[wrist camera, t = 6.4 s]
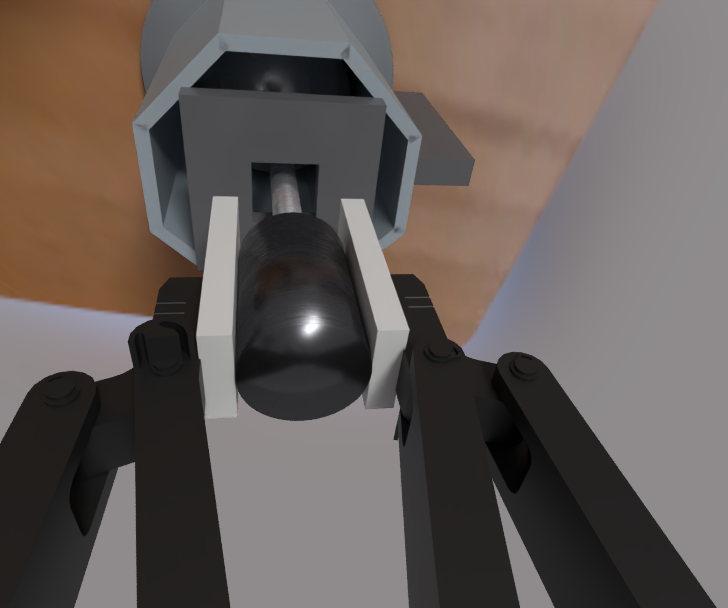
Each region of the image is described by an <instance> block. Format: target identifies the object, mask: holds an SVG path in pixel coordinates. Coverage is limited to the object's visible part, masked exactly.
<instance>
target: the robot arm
mask: <svg viewBox="0 0 728 608" xmlns="http://www.w3.org/2000/svg"><path fill="white" fill-rule="evenodd" d="M338 236H339V238H340V240H341V242H342V245H343V249H344V253H345V257H346V261H347V265H348V269H349V273H350V277H351V281H352V285H353V289H354V293H355V297H356V301H357V305H358V309H359V313H360V317H361V321H362V325H363V329H364V333H365V337H366V341H367V345H368V349H369V353H370V357H371V361H372V375H371V379H370V381H369V384H368V386H367V387H366V389H365V391H364V392H363V393H362V396H363V400H364V405H365V409H379V408H393V407H394V402H395V397H396V394H397V398H398V401H399V405H400V412H399V417H398V421H397V425H396V430H395V435H394V440H398V437H399V450H400V451H399V452H400V468H401V484H402V501H403V516H404V533H405V549H406V565H407V580H408V597H409V608H520V605H519V601H518V596H517V591H516V587H515V582H514V578H513V573H512V569H511V564H510V559H509V555H508V550H507V545H506V541H505V536H504V532H503V527H502V522H501V518H500V513H499V508H498V504H497V499H496V495H495V490H494V486H493V481H494V483H495V485H496V487H497V489H498V491H499V493H500V495H501V497H502V500H503V502H504V504H505V506H506V508H507V510H508V512H509V514H510V516H511V518H512V520H513V522H514V524H515V526H516V529H517V531H518V533H519V535H520V537H521V539H522V541H523V543H524V545H525V547H526V549H527V551H528V553H529V555H530V557H531V559H532V562H533V564H534V566H535V568H536V570H537V572H538V574H539V576H540V578H541V580H542V582H543V584H544V586H545V589H546V591H547V593H548V595H549V597H550V598H551V601H552V603H553V605H554V607H555V608H716V606H715V605H714V603H713V602H712V600H711V599H710V598H709V596H708V595H707V593H706V592H705V591H704V589H703V588H702V586H701V585H700V583H699V582H698V581H697V579H696V578H695V576H694V575H693V573H692V572H691V571H690V569H689V568H688V567H687V565H686V564H685V562H684V561H683V559H682V558H681V556H680V555H679V554H678V552H677V551H676V550H675V548H674V546H673V545H672V544H671V542H670V541H669V540H668V538H667V536H666V535H665V534H664V532H663V531H662V529H661V528H660V527H659V525H658V524H657V522H656V521H655V519H654V518H653V517H652V515H651V514H650V512H649V511H648V510H647V508H646V507H645V505H644V504H643V502H642V501H641V500H640V498H639V497H638V495H637V494H636V492H635V491H634V490H633V488H632V487H631V485H630V484H629V482H628V481H627V480H626V478H625V477H624V475H623V474H622V473H621V471H620V470H619V469H618V467H617V466H616V464H615V463H614V461H613V460H612V458H611V457H610V455H609V454H608V453H607V451H606V450H605V448H604V447H603V445H602V444H601V443H600V441H599V440H598V439H597V437H596V436H595V434H594V433H593V431H592V430H591V429H590V427H589V426H588V424H587V423H586V422H585V420H584V418H583V417H582V416H581V414H580V413H579V411H578V410H577V409H576V407H575V406H574V404H573V403H572V401H571V400H570V399H569V397H568V396H567V395H566V393H565V392H564V390H563V389H562V387H561V386H560V384H559V383H558V382H557V380H556V379H555V377H554V376H553V374H552V373H551V372H550V370H549V369H548V367H547V366H546V365H545V364H544V363H543V362H542V361H540V360H539V359H537V358H535V357H533V356H532V355H529V354H525V353H522V352H510V353H506V354H504V355H502V356H501V357H500V358H499V359H498V362H497V364H495V363H490V362H485V361H479V360H476V359H472V358H469V357H467V356H465V354H464V352H463V350H462V348H461V347H460V346H458V345H457V344H456V343H455V342H453V341H451V340H449V339H447V337H446V334H445V332H444V330H443V327H442V325H441V323H440V320H439V318H438V316H437V313H436V311H435V308H434V307H433V304H432V301H431V299H430V298H429V294H428V292H427V290H426V287H425V285H424V284H423V283H422V282H421V281H420V280H419V279H418V278H417V277H416V276H415V275H414V274H390V273H389V270H388V267H387V264H386V261H385V258H384V256H383V253H382V250H381V247H380V244H379V241H378V238H377V236H376V233H375V230H374V227H373V224H372V221H371V218H370V216H369V213H368V210H367V207H366V204H365V201H364V199H341V204H340V215H339V227H338ZM239 250H240V231H239V209H238V197H228V196H213V200H212V209H211V217H210V225H209V234H208V242H207V250H206V258H205V267H204V275H203V277H184V278H169V279H168V280H167V281H166V283H165V284H164V285H163V286H162V287H161V288H160V289H159V294H158V298H157V304H156V307H155V312H154V316H153V320H150V321H147V322H145V323H143V324H141V325H139V326H138V327H136V328H135V329H134V330H133V331H132V332H131V333H130V336H129V340H128V345H129V349H130V353H131V358H132V362H133V368H132V369H130V370H129V371H127V372H125V373H123V374H120V375H117V376H115V377H111V378H108V379H104V380H100V381H96V382H94V380H93V378H92V377H91V376H89V375H87V374H85V373H83V372H77V371H67V372H59V373H56V374H53V375H50V376H48V377H45V378H44V379H42V380H41V381H39V382H38V383H37V384H35V385H34V386H33V387H32V388H31V390H30V391H29V392H28V393H27V395H26V397H25V399H24V400H23V402H22V404H21V406H20V408H19V410H18V411H17V413H16V415H15V417H14V419H13V421H12V423H11V424H10V426H9V428H8V430H7V432H6V434H5V436H4V437H3V439H2V441H1V443H0V608H74V606H75V603H76V600H77V597H78V593H79V590H80V587H81V584H82V581H83V577H84V575H85V571H86V568H87V565H88V562H89V559H90V556H91V552H92V549H93V546H94V543H95V540H96V536H97V533H98V530H99V527H100V524H101V520H102V517H103V514H104V511H105V508H106V505H107V501H108V498H109V495H110V492H111V489H112V486H113V483H114V479H115V476H116V473H117V470H118V467H121V466H124V465H127V464H130V463H133V462H135V483H136V484H135V485H136V557H137V558H136V561H137V562H136V566H137V608H230V601H229V594H228V587H227V580H226V573H225V565H224V558H223V550H222V544H221V536H220V529H219V521H218V514H217V508H216V500H215V492H214V486H213V478H212V471H211V463H210V456H209V449H208V442H207V434H206V427H205V420H204V415H206V419H209V418H225V417H237V409H238V389H237V386H236V343H237V307H238V271H239ZM492 479H493V481H492Z"/></svg>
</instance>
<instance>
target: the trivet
mask: <svg viewBox="0 0 728 608" xmlns="http://www.w3.org/2000/svg"><path fill="white" fill-rule="evenodd" d="M204 1H205V0H152V2H151V4H150V7H149V10H148V13H147V15H146V18H145V22H144V27H143V32H142V37H141V54H140V57H141V70H142V77H143V82H144V87H145V91H146V93H147V91H148V89H149V87H150V85H151V82H152V80H153V78H154V76H155V74H156V72H157V70H158V68H159V65H160V63H161V61H162V59H163V57H164V55H165V53H166V50H167V48H168V46H169V44H170V42H171V40H172V38H173V36H174V34H175V33H176V31H177V30H178V29H179V28H180V27H181V26H182V25H183V24H184V23H185V22H186V21H187V20H188V18H189V17H190V16H191V15H192V14H193V13H194V12H195V11H196V10H197V9H198V8H199V6H200V5H201V4H202V3H203V2H204ZM328 1H329V2H330V3H331V5H332V6H333V7H334V9H335V10H336V11H337V13H338V14H339V15H340V17H341V18H342V19H343V21H344V22H345V23H346V24H347V26H348V27H349V28H350V30H351V31H352V32H353V34H354V35H355V36H356V38H357V39H358V40H359V42H360V43H361V44H362V46H363V47H364V48H365V50H366V51H367V53H368V54H369V56H370V57H371V59H372V60H373V62H374V63H375V65H376V66H377V68H378V69H379V71H380V72H381V74H382V75H383V77H384V79H385V80H386V82H387V83H388V85H389V86H390V88H391V89H392V84H393V57H392V51H391V45H390V39H389V36H388V33H387V29H386V26H385V23H384V20H383V18H382V16H381V14H380V11H379V9H378V7H377V5H376V3H375V2H374V0H328Z"/></svg>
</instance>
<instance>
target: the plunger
mask: <svg viewBox="0 0 728 608" xmlns="http://www.w3.org/2000/svg"><path fill="white" fill-rule="evenodd" d="M194 87H195V88H211V89H229V90H247V91H265V92H283V93H300V94H318V95H336V96H351V93H350V84H349V80H348V76H347V72H346V70H345V67H344V64H343V62H342V60H341V59H336V58H322V57H307V56H293V55H278V54H264V53H250V52H235V51H225V52H224V53H223V54H222V55H221V56H220V57H219V58H218V59H217V60H216V61H215V62H214V63H213V64H212V65H211V66H210V68H209V69H208V70H207V71H206V72H205V73H204V74H203V75H202V76H201V77H200V78H199V79H198V80H197V81H196V82H195V85H194ZM308 165H310V164H289V163H256V162H251V168H253V169H256V170H260V171H265V172H270V181H271V196H272V210H273V216H270V217H268V218H265V219H263V220H262V221H260V222H259V223H257V224H256V225H255V226H253V227H252V228H251V229H250V230H249V232H248V233H247V234H246V236H245V237H244V239H243V241H242V243H241V246H240V250H239V271H238V307H237V343H236V386H237V389H238V392H239V393H240V395H241V397H242V398H243V399H244V401H245V402H246V403H247V404H248V405H249V406H251V407H252V408H253V409H255V410H256V411H258V412H260V413H262V414H264V415H267V416H269V417H273V418H277V419H282V420H290V421H304V420H312V419H318V418H322V417H325V416H328V415H331V414H334V413H336V412H338V411H340V410H342V409H344V408H345V407H347V406H349V405H350V404H351V403H353V402H354V401H355V400H356V399H358V398H359V397H360V395H361V394H362V393H363V392H364V391H365V389H366V387H367V386H368V384H369V381H370V379H371V375H372V361H371V357H370V353H369V349H368V345H367V341H366V337H365V333H364V329H363V325H362V321H361V317H360V313H359V309H358V305H357V301H356V297H355V293H354V289H353V285H352V281H351V277H350V273H349V269H348V265H347V261H346V257H345V253H344V249H343V245H342V242H341V240H340V238H339V236H338V234H337V233H336V231H335V230H334V229H333V228H332V227H331V226H330V225H329V224H328V223H326V222H325V221H323V220H322V219H320V218H317V217H315V216H312V215H309V214H305V213H302V211H301V205H300V198H299V192H298V185H297V179H296V172H295V170H297V169H301V168H303V167H306V166H308Z"/></svg>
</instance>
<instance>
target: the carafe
mask: <svg viewBox="0 0 728 608" xmlns="http://www.w3.org/2000/svg"><path fill="white" fill-rule="evenodd" d="M225 51H235V52H250V53H264V54H278V55H293V56H307V57H322V58H336V59H341V60H342V62H343V64H344V67H345V70H346V72H347V76H348V80H349V84H350V93H351V96H336V95H318V94H300V93H283V92H265V91H247V90H229V89H211V88H195V87H194V85H195V82H196V81H197V80H198V79H199V78H200V77H201V76H202V75H203V74H204V73H205V72H206V71H207V70H208V69H209V68H210V66H211V65H212V64H213V63H214V62H215V61H216V60H217V59H218V58H219V57H220V56H221V55H222V54H223V53H224V52H225ZM132 125H133V131H134V137H135V143H136V149H137V155H138V162H139V168H140V174H141V180H142V186H143V192H144V198H145V204H146V210H147V216H148V222H149V228H150V232H151V233H152V234H154V235H155V236H157V237H158V238H159V239H161V240H162V241H163V242H165V243H166V244H168V245H169V246H170V247H172V248H173V249H174V250H176V251H177V252H179V253H180V254H181V255H183V256H184V257H185V258H187V259H188V260H190V261H191V262H192V263H194V264H195V265H196V266H197V271H204V267H205V258H206V250H207V242H208V234H209V225H210V217H211V209H212V200H213V196H228V197H238V209H239V231H240V246H241V243H242V241H243V239H244V237H245V236H246V234H247V233H248V232H249V230H250V229H251V228H252V227H253V226H255V225H256V224H257V223H259V222H260V221H262V220H263V219H265V218H268V217H270V216H273V210H272V196H271V181H270V172H265V171H260V170H256V169H253V168H251V162H256V163H289V164H310V165H308V166H306V167H303V168H301V169H297V170H295V172H296V179H297V185H298V192H299V198H300V205H301V211H302V213H305V214H309V215H312V216H315V217H317V218H320V219H322V220H323V221H325V222H326V223H328V224H329V225H330V226H331V227H332V228H333V229H334V230H335V231H336V233H337V234H338V227H339V215H340V204H341V199H364V201H365V204H366V207H367V210H368V213H369V216H370V218H371V221H372V224H373V227H374V230H375V233H376V236H377V238H378V241H379V244H380V247H381V250H384V249H385V248H386V247H388V246H389V245H390V244H391V243H393V242H394V241H395V240H397V239H398V238H399V237H401V236H402V235H403V234H404V233H405V230H406V224H407V219H408V213H409V207H410V202H411V196H412V190H413V185H453V186H469V182H470V178H471V174H472V170H473V166H474V162H475V159H474V158H473V157H472V156H471V154H470V153H469V152H468V151H467V149H466V148H465V147H464V145H463V144H462V143H461V142H460V140H459V139H458V138H457V137H456V135H455V134H454V133H453V131H452V130H451V129H450V128H449V126H448V125H447V124H446V123H445V121H444V120H443V119H442V117H441V116H440V115H439V114H438V112H437V111H436V110H435V109H434V107H433V106H432V105H431V104H430V102H429V101H428V100H427V98H426V97H425V96H424V95H423V93H416V92H399V91H392V89H391V88H390V86H389V85H388V83H387V82H386V80H385V79H384V77H383V75H382V74H381V72H380V71H379V69H378V68H377V66H376V65H375V63H374V62H373V60H372V59H371V57H370V56H369V54H368V53H367V51H366V50H365V48H364V47H363V46H362V44H361V43H360V42H359V40H358V39H357V38H356V36H355V35H354V34H353V32H352V31H351V30H350V28H349V27H348V26H347V24H346V23H345V22H344V21H343V19H342V18H341V17H340V15H339V14H338V13H337V11H336V10H335V9H334V7H333V6H332V5H331V3H330V2H329V1H328V0H205V1H204V2H203V3H202V4H201V5H200V6H199V8H198V9H197V10H196V11H195V12H194V13H193V14H192V15H191V16H190V17H189V18H188V20H187V21H186V22H185V23H184V24H183V25H182V26H181V27H180V28H179V29H178V30H177V31H176V33H175V34H174V36H173V38H172V40H171V42H170V44H169V46H168V48H167V50H166V53H165V55H164V57H163V59H162V61H161V63H160V65H159V68H158V70H157V72H156V74H155V76H154V78H153V80H152V82H151V85H150V87H149V89H148V91H147V93H146V95H145V97H144V99H143V102H142V104H141V106H140V108H139V110H138V112H137V114H136V117H135V119H134V121H133V123H132Z"/></svg>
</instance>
